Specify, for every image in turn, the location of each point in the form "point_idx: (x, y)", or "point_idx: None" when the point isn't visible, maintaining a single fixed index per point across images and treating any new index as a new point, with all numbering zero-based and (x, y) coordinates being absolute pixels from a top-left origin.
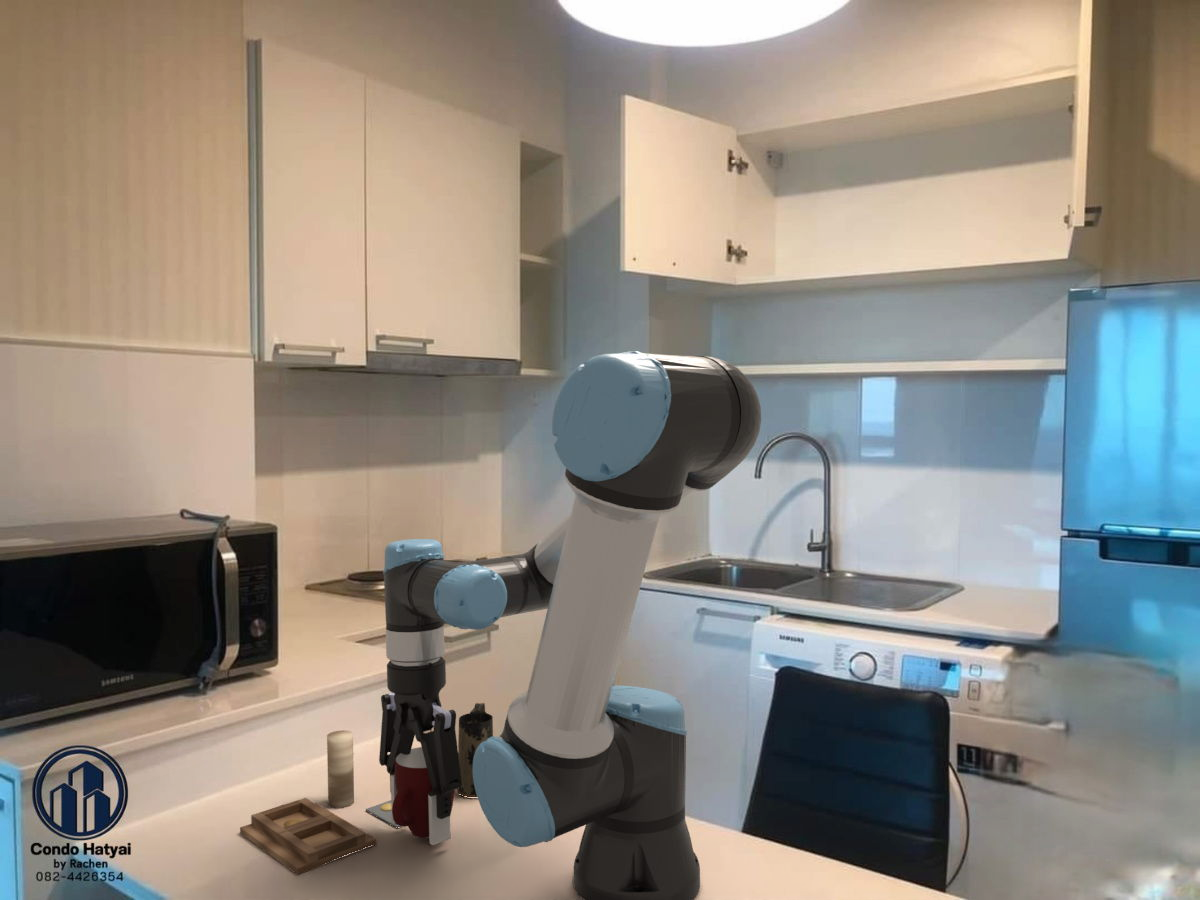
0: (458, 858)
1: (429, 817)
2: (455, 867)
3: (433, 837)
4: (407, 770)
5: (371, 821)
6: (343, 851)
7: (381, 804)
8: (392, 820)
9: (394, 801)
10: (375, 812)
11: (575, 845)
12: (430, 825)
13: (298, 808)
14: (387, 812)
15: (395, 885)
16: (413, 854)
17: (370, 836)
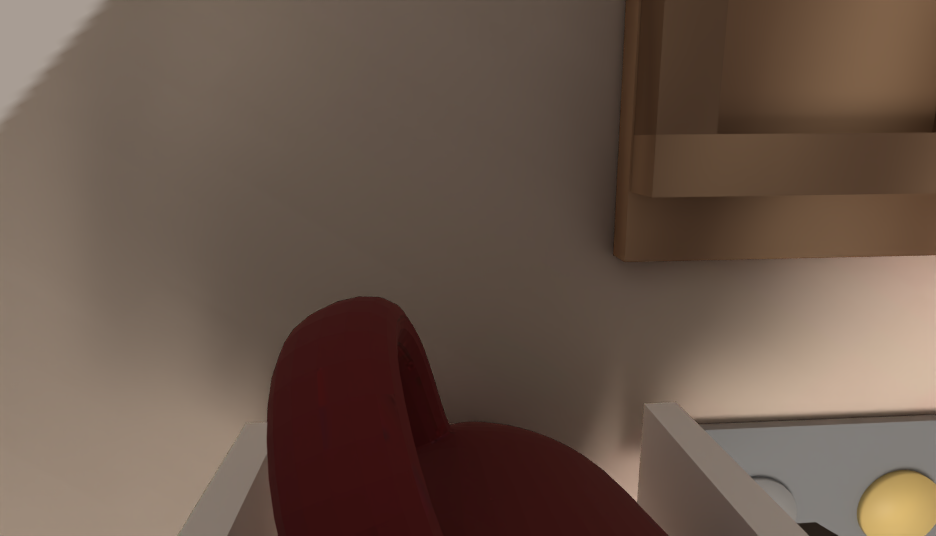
0: (177, 474)
1: (221, 527)
2: (99, 415)
3: (230, 450)
4: None
5: (855, 375)
6: (635, 35)
7: None
8: (678, 412)
9: (356, 371)
10: (909, 432)
11: None
12: (229, 489)
13: None
14: (858, 475)
15: (120, 77)
16: None
17: (672, 253)
